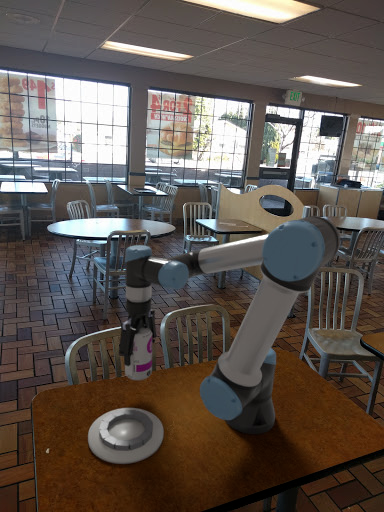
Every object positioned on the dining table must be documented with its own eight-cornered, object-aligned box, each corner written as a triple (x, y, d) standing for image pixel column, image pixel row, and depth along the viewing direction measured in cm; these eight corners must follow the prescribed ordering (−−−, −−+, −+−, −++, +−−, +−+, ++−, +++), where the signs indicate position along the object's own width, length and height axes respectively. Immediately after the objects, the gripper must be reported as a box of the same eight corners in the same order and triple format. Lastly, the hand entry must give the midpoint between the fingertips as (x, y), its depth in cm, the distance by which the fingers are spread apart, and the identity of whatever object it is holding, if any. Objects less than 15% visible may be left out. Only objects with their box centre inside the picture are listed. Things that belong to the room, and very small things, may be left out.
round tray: (177, 428, 109) (177, 419, 108) (132, 476, 92) (132, 466, 92) (121, 403, 119) (121, 395, 118) (71, 442, 102) (71, 433, 101)
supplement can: (153, 368, 124) (154, 324, 121) (148, 382, 117) (148, 336, 113) (129, 366, 125) (128, 322, 122) (122, 380, 117) (121, 334, 114)
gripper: (149, 286, 125) (148, 350, 131) (104, 306, 108) (106, 379, 113) (168, 290, 122) (167, 356, 127) (125, 312, 104) (126, 387, 110)
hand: (138, 367), depth 120 cm, fingers closed on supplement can, 8 cm apart
